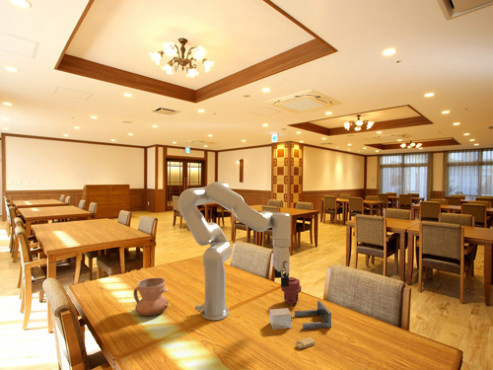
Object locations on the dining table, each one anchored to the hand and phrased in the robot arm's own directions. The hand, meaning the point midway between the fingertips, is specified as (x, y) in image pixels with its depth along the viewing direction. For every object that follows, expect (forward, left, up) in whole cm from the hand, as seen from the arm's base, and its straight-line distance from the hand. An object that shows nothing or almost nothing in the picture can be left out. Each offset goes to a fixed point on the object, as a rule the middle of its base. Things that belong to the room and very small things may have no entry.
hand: (281, 282), depth 113 cm
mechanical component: (+11, +19, -19) cm, 28 cm away
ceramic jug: (-57, +21, -19) cm, 64 cm away
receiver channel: (+14, +1, -18) cm, 23 cm away
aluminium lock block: (0, 0, -19) cm, 19 cm away
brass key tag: (+6, -14, -18) cm, 24 cm away
